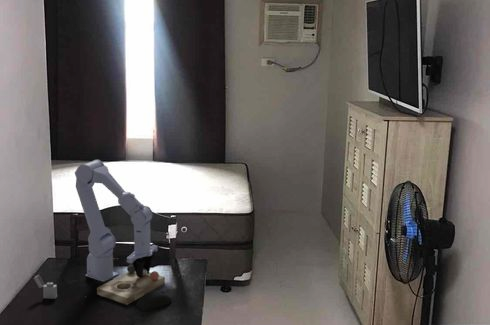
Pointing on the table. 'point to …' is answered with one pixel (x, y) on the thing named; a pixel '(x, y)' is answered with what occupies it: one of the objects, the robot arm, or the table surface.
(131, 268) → the black ball
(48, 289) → the lighter
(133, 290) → the maple board
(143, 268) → the steel ball
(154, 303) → the computer mouse
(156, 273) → the red ball
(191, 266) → the table surface
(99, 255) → the robot arm
